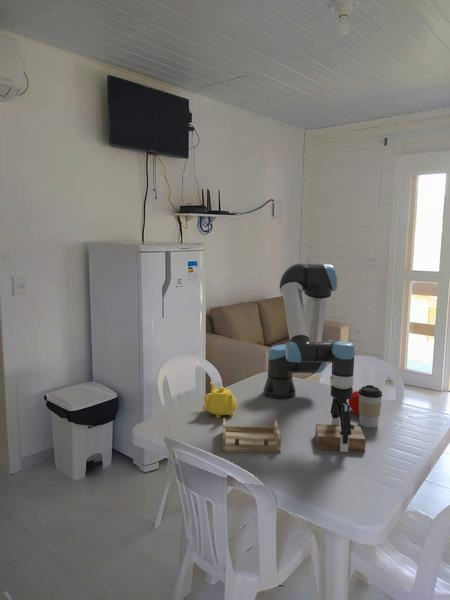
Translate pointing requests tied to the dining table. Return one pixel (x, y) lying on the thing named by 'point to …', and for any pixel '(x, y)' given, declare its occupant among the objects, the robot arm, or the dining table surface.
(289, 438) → the dining table surface
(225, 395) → the teapot
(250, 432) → the box
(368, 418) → the coffee cup
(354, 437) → the door
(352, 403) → the tomato
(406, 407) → the dining table surface
